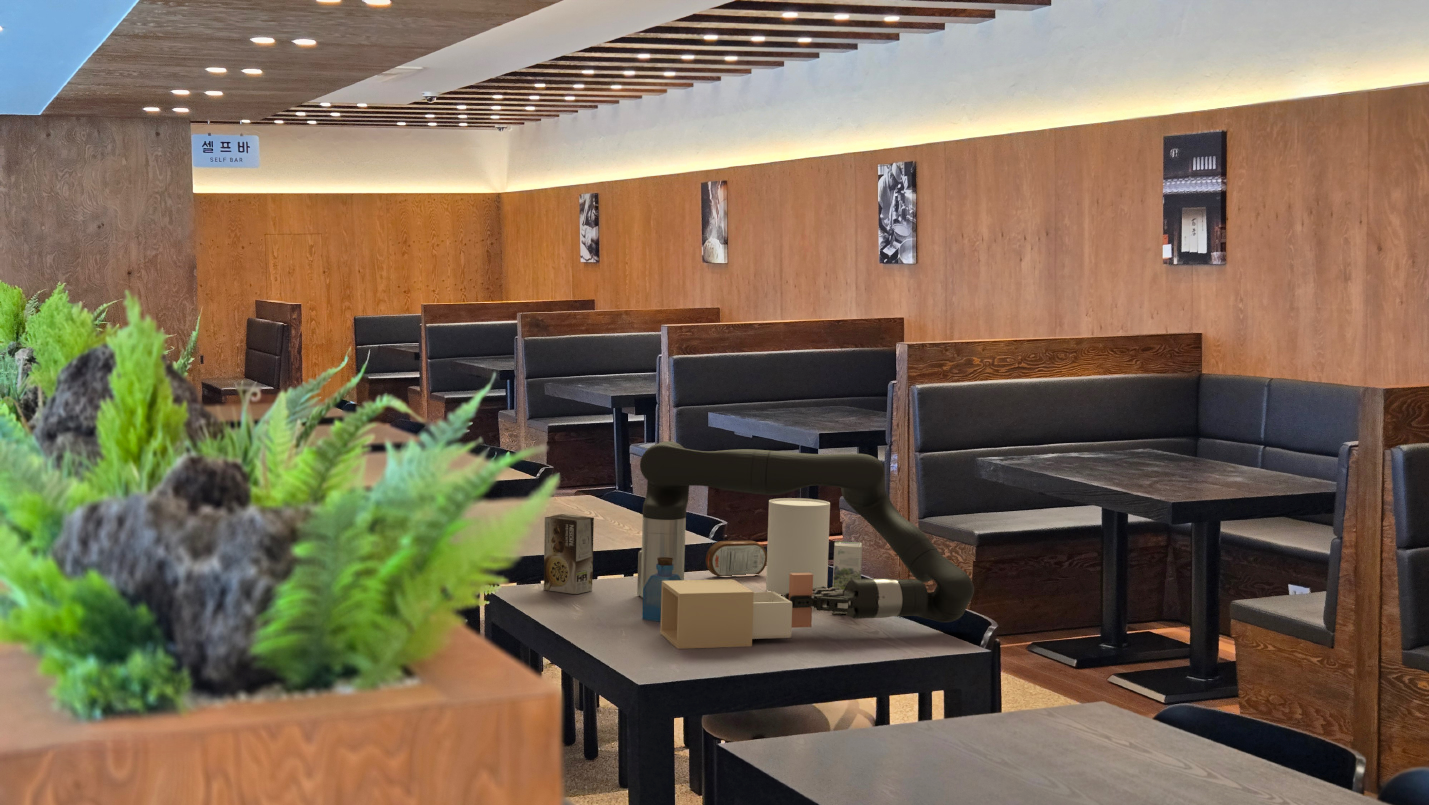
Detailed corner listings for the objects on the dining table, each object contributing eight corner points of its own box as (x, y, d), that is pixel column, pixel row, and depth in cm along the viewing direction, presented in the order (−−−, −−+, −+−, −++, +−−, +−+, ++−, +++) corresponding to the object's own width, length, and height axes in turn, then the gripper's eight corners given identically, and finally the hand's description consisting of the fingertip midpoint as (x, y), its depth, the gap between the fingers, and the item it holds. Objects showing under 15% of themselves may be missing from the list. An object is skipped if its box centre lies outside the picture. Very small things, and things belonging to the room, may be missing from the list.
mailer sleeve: (677, 648, 257) (679, 593, 256) (660, 633, 269) (661, 580, 269) (751, 646, 261) (753, 592, 260) (731, 631, 273) (733, 579, 273)
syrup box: (859, 610, 298) (862, 541, 297) (859, 616, 292) (862, 545, 291) (832, 609, 298) (834, 540, 297) (831, 614, 292) (834, 544, 292)
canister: (819, 599, 309) (823, 507, 308) (759, 594, 313) (762, 503, 312) (832, 588, 322) (835, 500, 321) (774, 584, 326) (777, 496, 325)
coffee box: (593, 591, 310) (595, 517, 309) (575, 595, 305) (577, 520, 304) (560, 585, 315) (562, 513, 314) (541, 589, 310) (543, 515, 309)
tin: (762, 574, 339) (763, 539, 338) (768, 576, 336) (769, 541, 335) (704, 577, 332) (705, 541, 332) (709, 579, 330) (710, 543, 329)
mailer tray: (723, 639, 260) (725, 580, 260) (707, 627, 271) (709, 570, 270) (819, 636, 266) (821, 578, 265) (800, 624, 276) (801, 568, 275)
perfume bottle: (684, 617, 285) (686, 557, 284) (670, 622, 279) (672, 562, 279) (656, 614, 288) (658, 554, 287) (642, 619, 282) (644, 559, 281)
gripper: (860, 572, 280) (776, 574, 276) (888, 585, 267) (800, 587, 262) (859, 610, 281) (775, 612, 276) (886, 625, 267) (799, 627, 263)
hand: (788, 600), depth 269 cm, fingers closed on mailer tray, 2 cm apart
